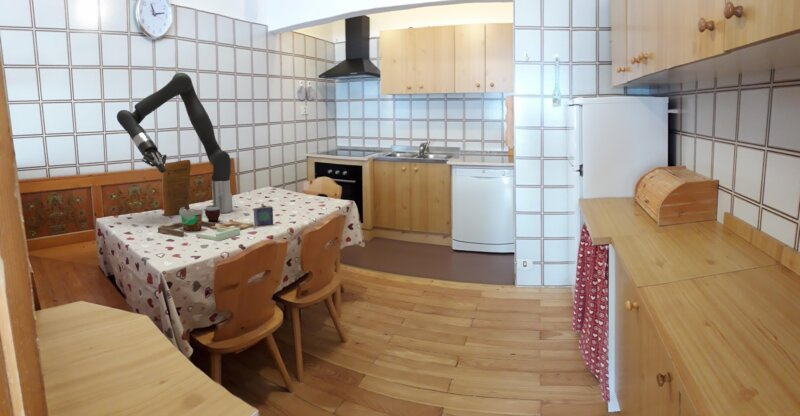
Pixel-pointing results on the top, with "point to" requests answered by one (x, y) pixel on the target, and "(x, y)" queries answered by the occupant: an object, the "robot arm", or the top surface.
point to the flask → (263, 215)
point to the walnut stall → (169, 228)
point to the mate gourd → (213, 212)
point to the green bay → (221, 234)
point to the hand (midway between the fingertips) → (164, 171)
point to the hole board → (234, 223)
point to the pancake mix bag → (176, 187)
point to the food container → (191, 219)
